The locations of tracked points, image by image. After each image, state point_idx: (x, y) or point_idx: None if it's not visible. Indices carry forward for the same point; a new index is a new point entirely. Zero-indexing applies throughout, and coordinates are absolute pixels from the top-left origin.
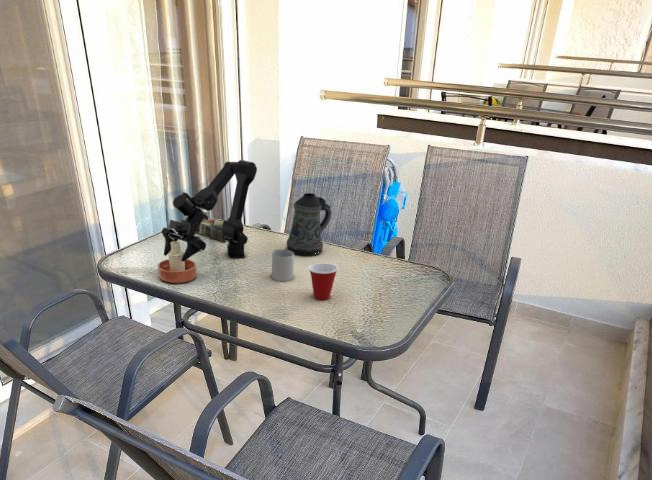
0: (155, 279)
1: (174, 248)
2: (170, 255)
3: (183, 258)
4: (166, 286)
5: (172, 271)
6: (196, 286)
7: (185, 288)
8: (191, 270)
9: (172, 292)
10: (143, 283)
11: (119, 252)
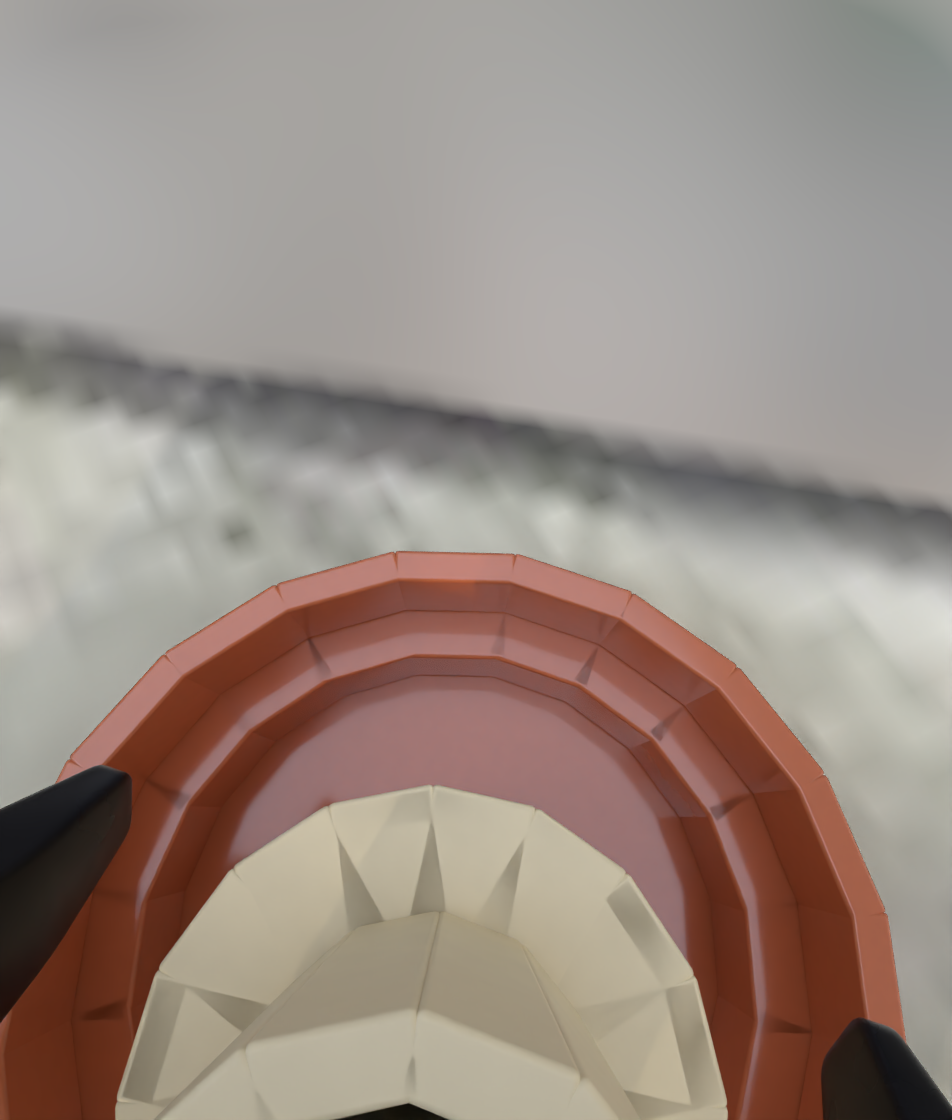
0: None
1: (349, 962)
2: (510, 802)
3: (29, 808)
4: (437, 530)
5: (356, 587)
6: (11, 697)
7: (151, 570)
8: None
9: (272, 399)
10: (779, 501)
11: None
